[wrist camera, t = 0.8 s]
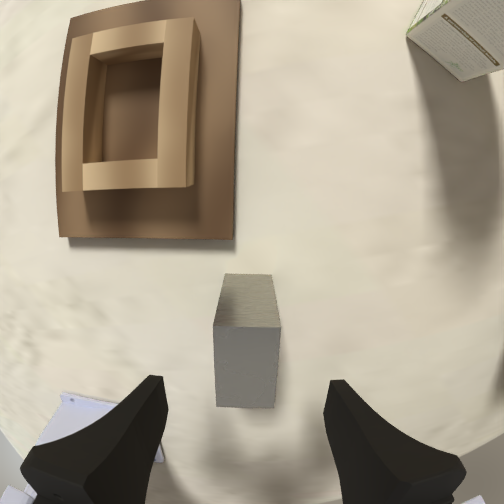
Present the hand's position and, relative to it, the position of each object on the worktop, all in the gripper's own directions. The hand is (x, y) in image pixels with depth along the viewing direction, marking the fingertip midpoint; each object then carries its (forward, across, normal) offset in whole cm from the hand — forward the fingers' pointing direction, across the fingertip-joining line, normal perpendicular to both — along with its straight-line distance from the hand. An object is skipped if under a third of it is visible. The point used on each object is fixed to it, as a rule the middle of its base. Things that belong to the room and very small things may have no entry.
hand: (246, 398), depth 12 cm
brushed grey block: (+9, 0, 0) cm, 9 cm away
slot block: (+9, +7, -13) cm, 17 cm away
